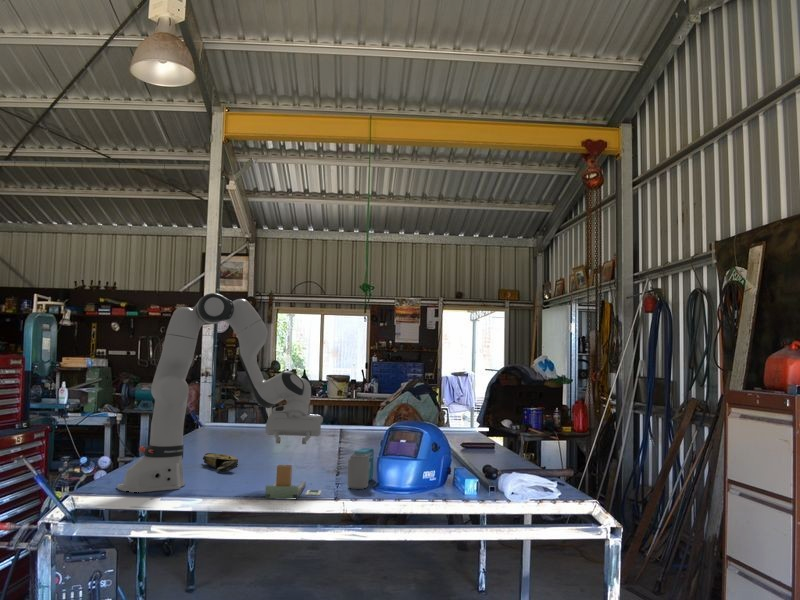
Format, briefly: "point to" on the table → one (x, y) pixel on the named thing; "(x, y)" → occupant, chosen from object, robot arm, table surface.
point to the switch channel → (288, 491)
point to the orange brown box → (284, 475)
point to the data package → (370, 455)
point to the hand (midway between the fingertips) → (290, 442)
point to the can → (358, 471)
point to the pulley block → (220, 461)
